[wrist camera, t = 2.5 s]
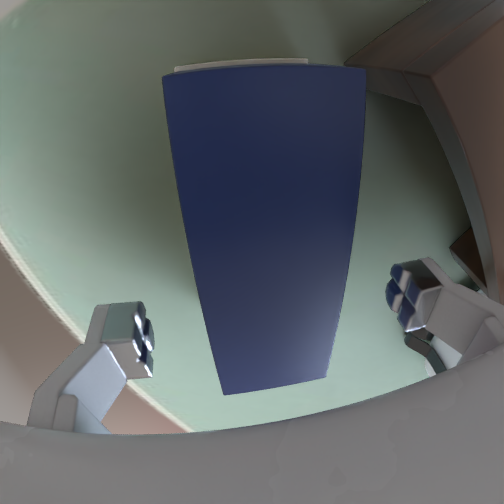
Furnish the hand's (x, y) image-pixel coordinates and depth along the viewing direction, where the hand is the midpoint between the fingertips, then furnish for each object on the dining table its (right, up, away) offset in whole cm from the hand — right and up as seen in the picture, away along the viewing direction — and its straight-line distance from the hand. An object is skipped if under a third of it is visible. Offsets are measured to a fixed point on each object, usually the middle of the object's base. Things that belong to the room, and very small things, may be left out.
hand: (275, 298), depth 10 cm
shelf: (+13, +9, +4) cm, 16 cm away
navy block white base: (-1, +4, +5) cm, 6 cm away
